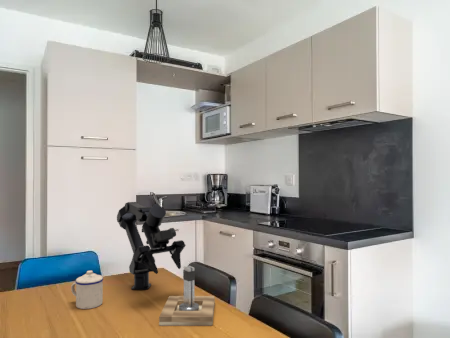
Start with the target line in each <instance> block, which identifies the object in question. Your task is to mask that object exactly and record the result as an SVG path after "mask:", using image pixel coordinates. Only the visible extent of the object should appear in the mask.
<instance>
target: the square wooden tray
mask: <svg viewBox="0 0 450 338" xmlns="http://www.w3.org/2000/svg"><path fill="white" fill-rule="evenodd" d="M215 297H216V296H215V295H194V303H197V304H198V305H199V311H179V305H180V304H182V303H184V295H169V296H168V298H167V300H166V302H165V303H164V306H163V308H162V310H161V312H160V315H159V316H158V317H159V318H158V326H189V327H190V326H194V327H195V326H210V327H211V326H213V323H214V311H215V302H216V301H215Z"/></svg>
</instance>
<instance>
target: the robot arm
mask: <svg viewBox="0 0 450 338" xmlns="http://www.w3.org/2000/svg"><path fill="white" fill-rule="evenodd" d="M166 214H167V212H166V209H164V208H163V207H162V206H160V205H159V203H153V204H152V205H151V206H144V205H142V204H140V203H139V202H136V201H128V202H125V203H124V205H123V207H122V208H120V209H119V210H118V212H117V215H116V221H117V223H118V224H119V227H120V228H121V229H123V230H124V231H125V232H126V235H127V238H128V241H129V244H130V247H131V250H132V253H133V254H132V258H131V260H130V261H131V262H130V264H129V266H128V269H129V273H130V274H132V276H133V277H134V279H133V286H132V287H131V290H133V291H134V290H146V291H147V290H149V289H150V287H151V286H152V283H150V272H153V273H154V274H156V275H158V274H159V269H158V267H157V265H156V259H155V256H153V255H156V254H162V253H168V252H169V254H170V255H171V256H170V257H171V259H172V260H173V262H174V264H175V266H176V268H178V269H179V270H180V269H181V268H182V265H181V264H182V263H181V262H182V261H181V253H182V252H183V250H184V249H185V247H186V246H187V245H186V244H185V243H186V242H185V241H184V240H175V241H172V243H171V245H169V243H170V240H173V239H174V237H176V236H177V233H176V230H175V228H174V227H170V228H168V229H165V230H161V229H160V226H161V225H162V223H163V221H164V219H165V217H166ZM137 222H138V223H142V226H141V233H144V236H145V238H146V242H145V243H146V244H145V245H144V242H143V240H142V238H141V234H140V232H139V229H138V227H137Z"/></svg>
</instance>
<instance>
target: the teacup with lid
mask: <svg viewBox="0 0 450 338" xmlns="http://www.w3.org/2000/svg"><path fill="white" fill-rule="evenodd" d="M103 281H104V277H103V275H101V274H97V273H94V272H93V270H87V271H86V273H85V274H83V275H82V276H78V277H77V278H76V279H75V282H73V283H72V284H71V286H70V289H71V294H72V295H73V296H74V297H75V306H76V308H77V309H81V310H88V309H89V310H90V309H94V308H98V307H100V306H101V305H102V304H103V298H104V297H103V295H104V294H103V293H104V292H103V287H104V285H103Z"/></svg>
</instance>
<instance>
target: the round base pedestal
mask: <svg viewBox="0 0 450 338" xmlns="http://www.w3.org/2000/svg"><path fill="white" fill-rule="evenodd" d="M182 271H183V276H182V279H183V296H184V303H182V304H180V305H179V311H199V305H198V304H197V303H194V296H195V280H196V271H195V266H194V267H193V266H191V265H187V266H183V270H182Z"/></svg>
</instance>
